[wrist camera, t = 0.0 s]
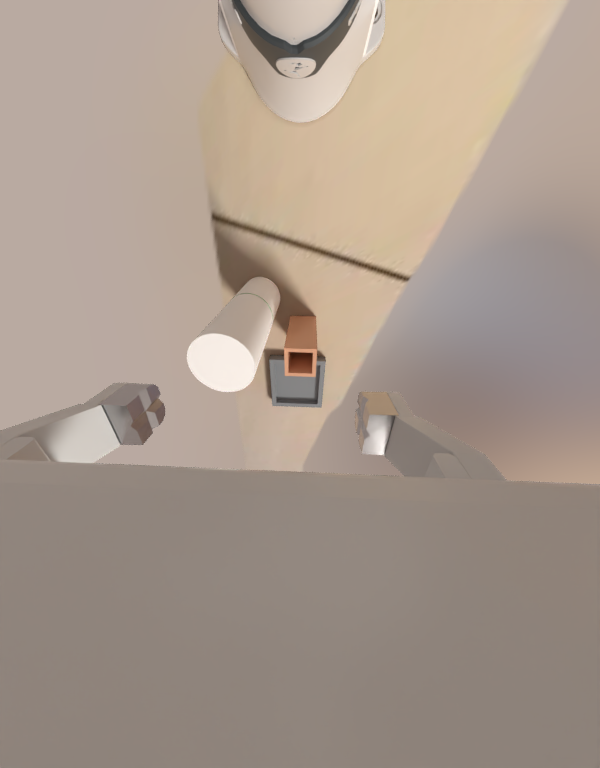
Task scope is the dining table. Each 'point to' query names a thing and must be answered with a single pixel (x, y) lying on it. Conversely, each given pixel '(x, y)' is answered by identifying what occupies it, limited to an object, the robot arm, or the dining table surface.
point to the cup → (301, 347)
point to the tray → (296, 385)
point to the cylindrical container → (235, 338)
